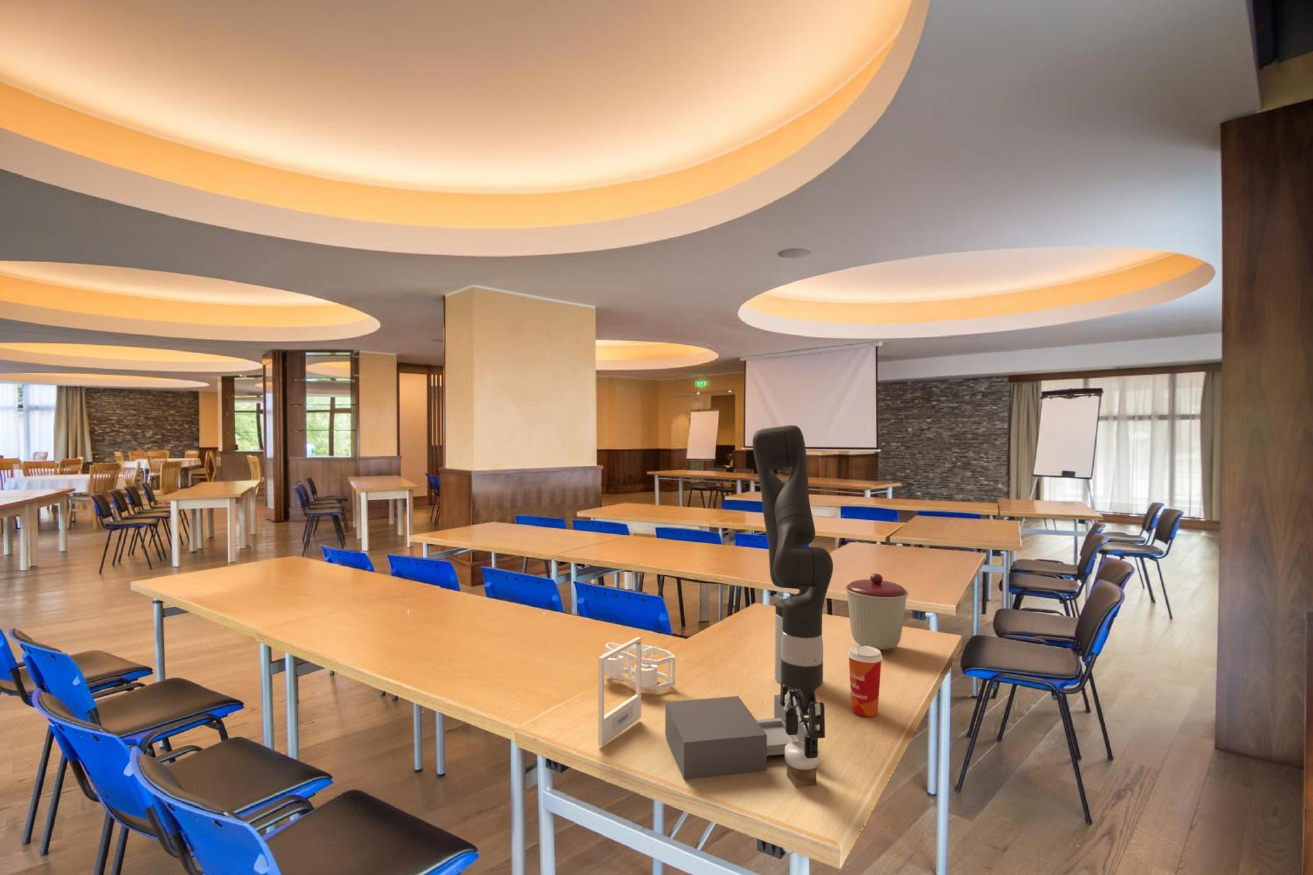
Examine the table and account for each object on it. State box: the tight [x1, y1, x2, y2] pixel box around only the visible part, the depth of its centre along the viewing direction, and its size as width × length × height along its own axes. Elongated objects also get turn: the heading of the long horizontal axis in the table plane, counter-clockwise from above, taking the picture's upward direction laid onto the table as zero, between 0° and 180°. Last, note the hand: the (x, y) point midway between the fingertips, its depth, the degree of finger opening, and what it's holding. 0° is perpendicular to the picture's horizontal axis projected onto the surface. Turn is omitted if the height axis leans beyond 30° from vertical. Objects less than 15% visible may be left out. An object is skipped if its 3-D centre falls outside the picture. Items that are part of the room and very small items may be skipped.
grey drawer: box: [756, 694, 809, 757], centre depth 126 cm, size 15×17×6 cm
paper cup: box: [846, 645, 884, 718], centre depth 142 cm, size 8×8×14 cm
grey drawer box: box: [664, 695, 768, 781], centre depth 124 cm, size 16×17×7 cm
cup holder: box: [602, 642, 676, 691], centre depth 160 cm, size 20×11×7 cm, turn 52°
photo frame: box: [597, 636, 642, 747], centre depth 133 cm, size 15×1×18 cm, turn 149°
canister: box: [844, 573, 910, 651], centre depth 186 cm, size 18×18×21 cm
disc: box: [784, 741, 820, 770], centre depth 114 cm, size 6×6×2 cm
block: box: [786, 763, 818, 788], centre depth 114 cm, size 4×4×4 cm
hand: (800, 745), depth 114 cm, fingers open, 8 cm apart
